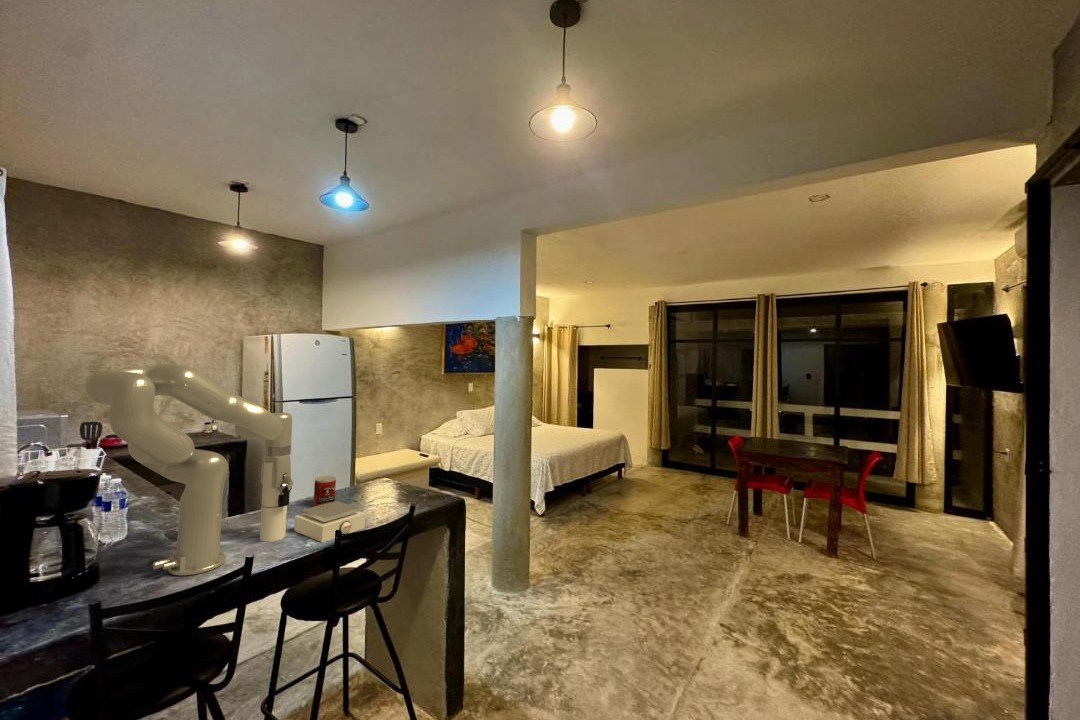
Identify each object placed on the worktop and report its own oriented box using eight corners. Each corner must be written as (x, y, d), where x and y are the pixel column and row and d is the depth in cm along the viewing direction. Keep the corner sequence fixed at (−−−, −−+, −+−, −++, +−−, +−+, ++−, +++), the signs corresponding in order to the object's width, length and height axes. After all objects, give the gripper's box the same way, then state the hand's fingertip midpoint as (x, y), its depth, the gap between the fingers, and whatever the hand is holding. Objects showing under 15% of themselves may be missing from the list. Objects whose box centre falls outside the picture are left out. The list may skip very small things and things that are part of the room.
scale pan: (324, 521, 141) (324, 518, 141) (301, 513, 148) (302, 509, 148) (359, 511, 152) (359, 508, 152) (336, 504, 159) (336, 500, 159)
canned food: (315, 510, 168) (317, 481, 168) (311, 504, 174) (312, 477, 174) (336, 506, 173) (338, 479, 173) (331, 501, 179) (333, 474, 179)
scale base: (323, 543, 138) (324, 527, 138) (294, 530, 147) (294, 516, 147) (366, 528, 152) (367, 514, 152) (337, 517, 161) (337, 504, 161)
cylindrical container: (289, 536, 142) (293, 460, 143) (266, 543, 136) (271, 464, 137) (277, 531, 146) (281, 457, 146) (255, 538, 140) (259, 460, 140)
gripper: (251, 448, 143) (249, 500, 143) (280, 456, 134) (277, 511, 134) (275, 445, 149) (273, 495, 149) (304, 452, 140) (301, 505, 140)
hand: (275, 502), depth 142 cm, fingers open, 9 cm apart
